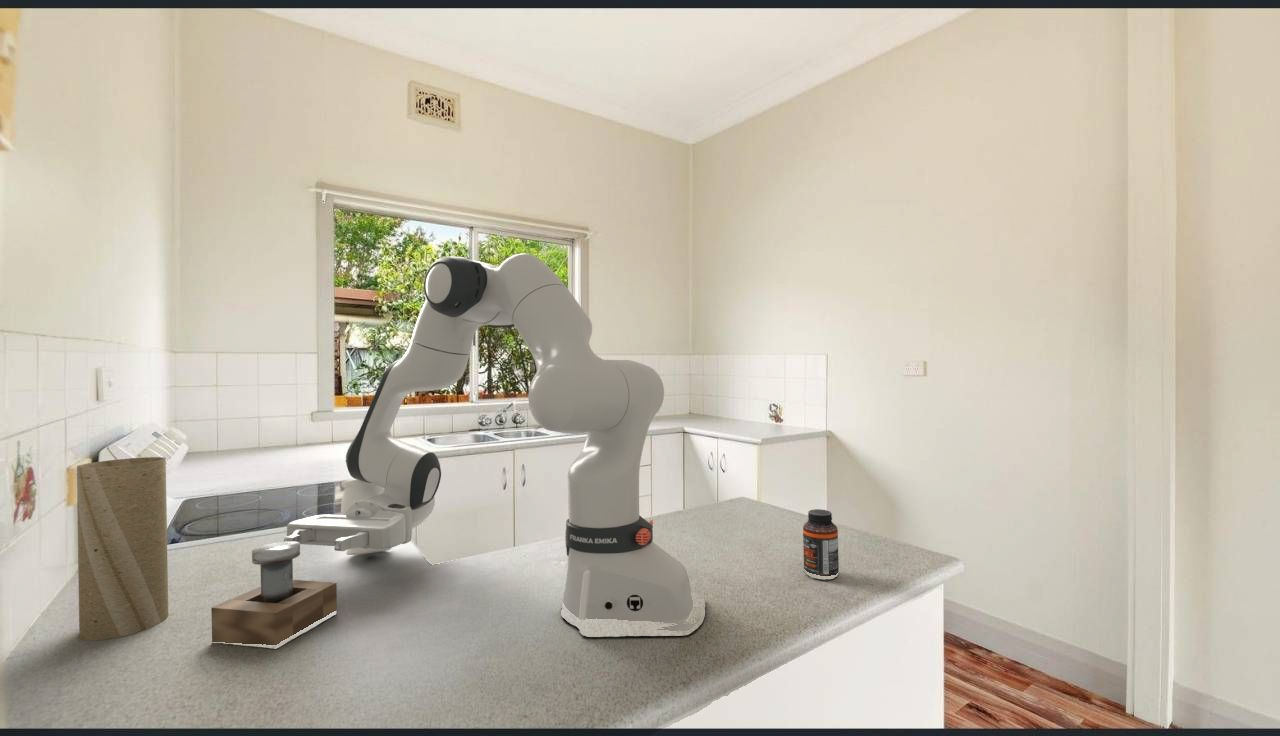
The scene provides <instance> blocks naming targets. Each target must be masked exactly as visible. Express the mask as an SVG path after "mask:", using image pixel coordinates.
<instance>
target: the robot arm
mask: <svg viewBox="0 0 1280 736" xmlns="http://www.w3.org/2000/svg"><path fill="white" fill-rule="evenodd" d="M423 292H424V296H425V301H424V304H423V305H422V307H421V310H420V312H419V314H418V317H417V320H416V321H415V322H416V323H415V324H414V329H413V331H412V336H411V339H410V342H409V346H408V348H407V349H406V352H405V353H404V355H403V356H402V357H401V358H400V359H398V360H395V361H393V362H392V363H390V365H388V367H387V369H386V370H385V372H384V373H383V376H382V378H381V380H380V382H379V384H378V386H377V388H376V390H375V393H374V395H373V398H372V400H371V402H370V405H369V407H368V410H367V412H366V414H365V416H364V419H363V422H362V424H361V426H360V428H359V431H358V432H357V434H356V435H355V437H354V439H353V440H352V441H351V443H350V445H349V446H348V448H347V451H346V455H345V464H346V465H345V466H346V467H347V471H348V473H349V475H350V476H351V478H353V480H354V479H357V480H361V481H364V482H368V483H373V484H375V485H378V486H380V487H383V488H385V490H384V492H383V493H382V494H380V495H377V496H373V497H370V498H367V499H364V500H361V501H358V502H356V503H354V504H353V505H351V506H350V507H349V509H348V510H347V512H346V514H345V515H341V514H333V513H332V514H331V513H330V514H327V513H325V514H324V513H323V514H316V515H311V516H306V517H303V518H300V519H299V518H298V519H295V520H292V521H290V522H289V523H288V524H287V525H286V536H285V537H284V539H283V542H288V541H294V542H299V543H300V545H304V546H305V545H307V546H308V545H309V546H328V547H334V549H333V550H334V551H335V552H336V551H337V552H345V551H346V552H347V550H348V549H351V548H365V549H367V548H376V549H387V548H391V549H393V548H395V547H397V546H399V545H405V544H408V543H410V542H412V536H413V529H415V528H416V527H418V526H420V525H421V524H422V523H423V522H425V521H426V520H427V519H428V518H429V517H430V515H432V513H433V511H434V508H435V505H436V498H435V496H436V493H437V491H438V489H439V486H440V483H441V479H442V478H441V477H442V468H441V463H440V461H439V458H438V456H437V455H436V454H435V453H434V452H432V451H429V450H427V449H424V448H422V447H419V446H417V445H414V444H409V443H407V442H405V441H402V440H400V439H397V438H394V437H393V434H392V432H391V429H392V426H393V424H394V422H395V419H396V418H397V416H398V415H397V414H398V412H399V411H400V408H401V406H402V404H403V401H404V399H405V398H406V397H407V396H408V395H409V394H412V393H413V392H414V393H415V392H429V391H438V390H439V391H440V390H443V389H446V388H449V387H451V386H453V385H454V384H456V383H457V382H458V381H460V379H462V377H463V375H464V374H465V372H466V371H465V370H466V368H467V365H468V362H469V358H470V355H471V351H472V350H471V349H472V345H473V342H474V341H473V340H474V336H475V333H476V331H477V330H479V328H481V327H483V326H485V325H486V326H488V325H489V326H490V327H491V328H492V329H497V328H498V329H499V328H515V329H516V330H517V332H518V334H519V335H520V337H521V339H522V340H523V342H524V343H525V345H526V346H527V348H528V350H529V352H530V353H531V355H532V358H533V360H534V364H535V370H536V372H535V374H534V376H533V377H532V380H531V381H530V385H529V388H528V397H527V398H528V405H529V410H530V413H531V415H532V416H533V419H534V421H535V422H536V423H537V424H538V425H539V426H541V428H543V429H544V430H547V431H549V432H556V433H562V434H571V435H578V434H584V433H587V435H586V438H585V439H586V440H585V442H584V445H583V447H582V449H581V452H580V453H579V455H578V456H577V457H576V459H574V461H573V462H572V463H571V465H570V466H569V468H568V472H567V499H568V500H567V501H568V519H566V521H565V537H564V538H565V548H566V556H567V570H566V580H565V581H566V582H565V589H564V592H563V598H562V602H563V603H564V605H565V607H566V608H567V609H568V610H569V611H570V612H571V613H572V614H574V615H575V616H576V617H578V618H579V619H580V620H582V619H583V620H585V619H586V618H587V619H596V618H597V619H617V620H628V621H651V622H660V623H661V622H664V623H676V624H678V625H674V624H672V625H674V626H669V627H670V628H669V627H662V628H664V629H657V630H669V631H679V630H681V631H685V630H686V631H687V630H689V629H690V628H692V627H693V626H695V624H697V623H694V624H689V623H687V624H683V623H686V622H684V621H685V620H686V619H687V618H688V617H689V615H690V613H691V611H692V608H693V600H692V594H691V591H692V587H691V583H690V579H689V575H688V572H687V569H686V568H685V566H684V565H683V563H682V562H681V561H680V560H678V559H676V558H675V557H674V556H672V555H671V554H670V553H668V552H667V551H665V550H664V549H663V548H662V547H661V546H660V545H658V544H657V543H655V542H654V541H653V539H654V536H653V534H654V531H653V528H654V525H653V524H654V521H653V519H650V521H647V520H646V519H645V518H643V517H642V516H641V515H640V469H641V461H642V456H643V455H642V454H643V450H644V445H645V442H646V438H647V436H648V435H647V434H648V431H649V429H650V426H651V423H652V421H653V419H654V417H655V416H656V414H657V413H658V412H659V411H660V409H661V407H662V405H663V402H664V397H665V388H664V387H665V386H664V383H663V380H662V378H661V377H660V374H659V373H658V372H657V371H656V369H654V368H652V367H650V366H649V365H646V364H644V363H641V362H638V361H634V360H630V359H605V358H604V359H603V358H601V357H600V356H599V355H597V354H596V353H595V352H594V351H593V349H592V348H591V345H590V343H589V342H590V340H591V336H592V333H593V323H592V321H591V319H590V317H589V316H588V315H587V314H586V312H585V310H584V309H583V308H582V307H581V305H580V304H579V302H578V301H577V299H576V298H575V296H573V294H572V292H571V291H570V290H569V288H568V287H567V286H566V285H565V283H564V281H562V279H560V277H559V276H558V275H557V274H556V273H555V272H554V271H553V270H552V269H551V268H550V266H548V265H547V263H545V262H543V261H542V259H540V258H539V257H537V256H536V255H533V254H530V253H518V254H513V255H512V256H509V257H507V258H506V259H505V260H504V261H502V263H501V264H500V265H499V266H496V265H494V264H491V263H488V262H484V261H479V260H478V261H477V260H473V259H470V258H467V257H463V256H444V257H443V256H442V257H440V258H438V259H436V260H435V261H433V263H432V264H431V266H430V267H429V268H428V270H427V272H426V274H425V277H424V282H423ZM700 618H701V617H700ZM700 618H697V619H696V620H697V622H698V621H699V620H700Z"/></svg>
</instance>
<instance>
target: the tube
mask: <svg viewBox="0 0 1280 736" xmlns="http://www.w3.org/2000/svg"><path fill="white" fill-rule="evenodd" d="M166 461H167V459H166V457H161V456H151V457H150V456H148V457H131V458H120V459H110V460H103V461H96V462H89V463H83V464H80V465H79V464H78V465H77V466H76V500H77V501H76V502H77V509H76V510H77V511H76V512H77V564H78V566H77V567H78V568H77V569H78V571H77V572H78V573H77V574H78V575H77V576H78V619H79V620H78V621H79V622H78V623H79V624H78V627H79V630H78V633H79V638H80V639H81V640H84V641H89V642H90V641H105V640H112V639H116V638H117V639H118V638H121V637H122V638H123V637H126V636H129V635H132V634H136V633H139V632H143V631H146V630H147V629H149V628H152V627H154V626H157V625H159V624H160V623H162V622H164V621H165V620H167V619H168V617H169V584H168V583H169V575H168V574H169V570H168V564H169V563H168V562H169V561H168V521H167V520H168V519H167V517H168V515H167V514H168V513H167V511H168V510H167V509H168V508H167V464H166V463H167V462H166Z"/></svg>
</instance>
